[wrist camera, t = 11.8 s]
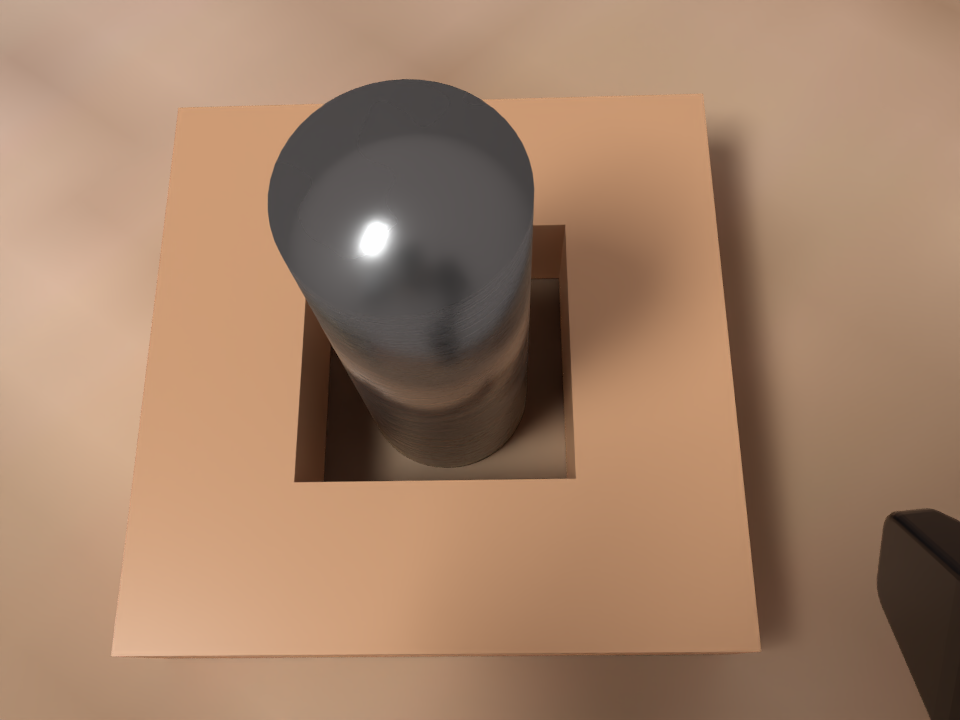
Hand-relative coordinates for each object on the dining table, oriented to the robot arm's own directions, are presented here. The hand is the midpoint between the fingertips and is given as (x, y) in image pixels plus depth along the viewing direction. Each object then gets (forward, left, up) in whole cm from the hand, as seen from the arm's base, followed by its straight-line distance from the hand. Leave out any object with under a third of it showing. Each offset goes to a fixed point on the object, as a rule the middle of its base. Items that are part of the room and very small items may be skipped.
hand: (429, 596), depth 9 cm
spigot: (+6, +1, -13) cm, 14 cm away
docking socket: (+6, +1, -13) cm, 14 cm away
